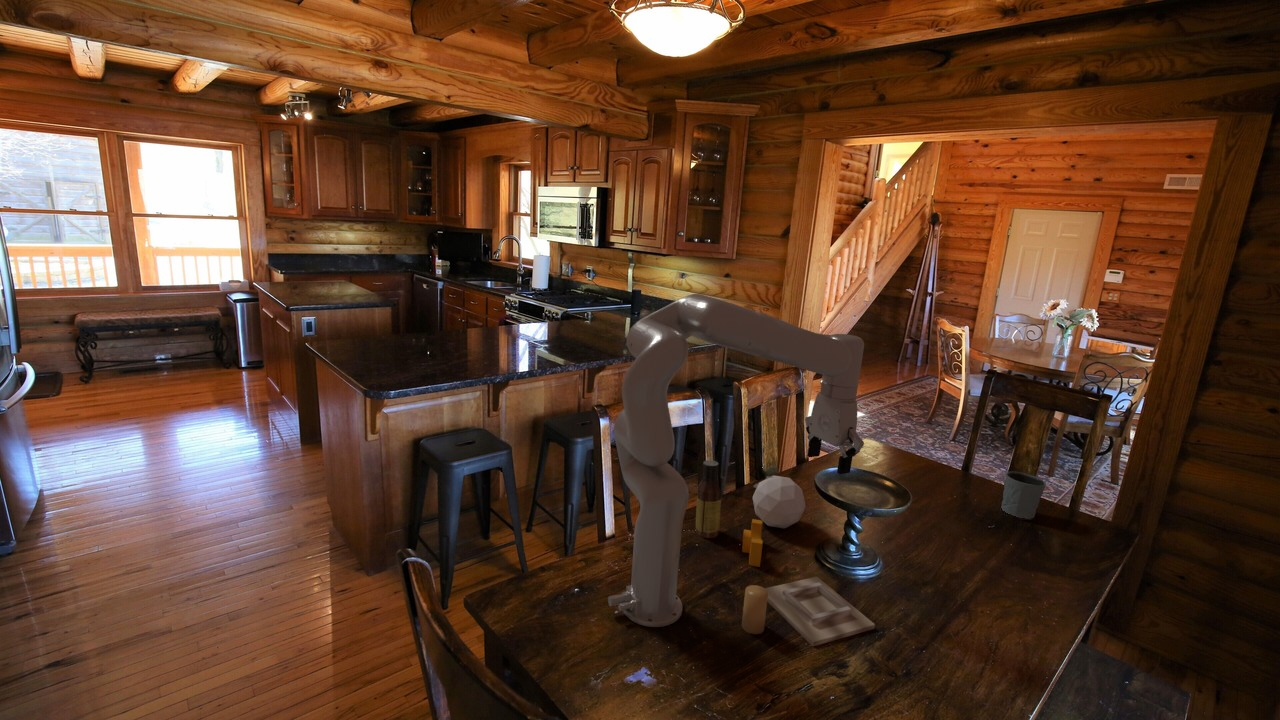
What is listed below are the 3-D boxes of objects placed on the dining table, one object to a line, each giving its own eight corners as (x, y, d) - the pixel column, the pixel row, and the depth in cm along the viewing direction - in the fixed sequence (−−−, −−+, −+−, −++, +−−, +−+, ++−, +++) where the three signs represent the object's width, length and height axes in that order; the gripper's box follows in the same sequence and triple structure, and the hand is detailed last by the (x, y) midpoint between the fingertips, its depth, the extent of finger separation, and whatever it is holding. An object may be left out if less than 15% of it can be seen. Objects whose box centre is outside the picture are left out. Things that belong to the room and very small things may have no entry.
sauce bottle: (722, 532, 157) (729, 462, 153) (712, 542, 152) (719, 470, 148) (700, 524, 161) (706, 456, 156) (689, 534, 156) (696, 463, 151)
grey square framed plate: (812, 646, 116) (814, 634, 115) (759, 593, 132) (760, 583, 131) (874, 628, 122) (876, 617, 122) (816, 580, 138) (817, 570, 138)
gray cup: (990, 507, 184) (998, 471, 181) (1020, 507, 185) (1028, 471, 182) (1014, 523, 174) (1022, 485, 171) (1045, 523, 175) (1054, 485, 173)
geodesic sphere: (738, 526, 161) (743, 477, 158) (756, 507, 173) (762, 461, 170) (791, 544, 154) (798, 493, 151) (807, 523, 166) (814, 475, 163)
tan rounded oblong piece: (749, 636, 118) (753, 600, 116) (737, 622, 121) (741, 587, 120) (768, 631, 119) (772, 595, 118) (755, 617, 123) (759, 583, 122)
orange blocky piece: (742, 540, 154) (745, 517, 153) (759, 543, 154) (762, 520, 152) (741, 565, 143) (744, 541, 141) (759, 568, 142) (762, 543, 141)
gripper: (799, 381, 135) (789, 452, 139) (854, 403, 120) (842, 482, 124) (824, 380, 138) (814, 449, 142) (882, 401, 123) (869, 478, 127)
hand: (827, 464), depth 133 cm, fingers open, 9 cm apart
